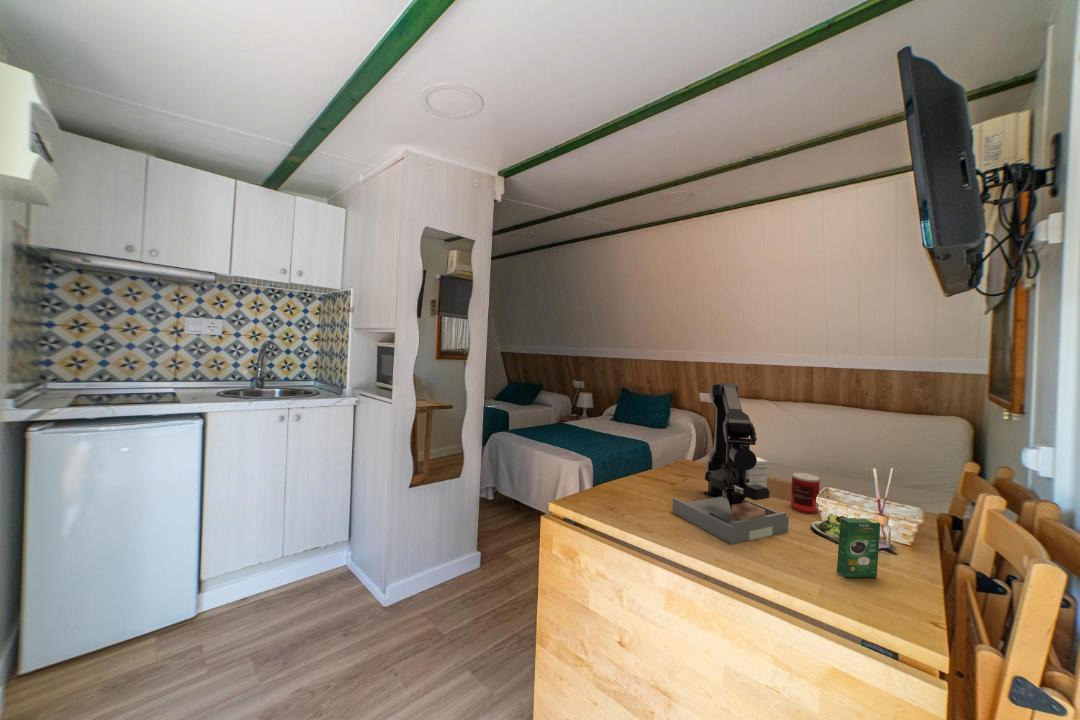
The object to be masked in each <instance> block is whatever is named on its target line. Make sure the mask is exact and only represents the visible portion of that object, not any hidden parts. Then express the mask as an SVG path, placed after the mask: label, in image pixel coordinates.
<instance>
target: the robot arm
mask: <svg viewBox="0 0 1080 720" xmlns="http://www.w3.org/2000/svg"><path fill="white" fill-rule="evenodd" d="M739 396H740V395H739V385H738V384H736V383H733V382H730V383H729V382H722V383H714V384H713V385H711V386H710V387H709V397H711V400H710V401H711V402H712V404H713V406H714V407H715V416H714V417H715V420H714V421H715V424H714V443H713V445H714V447H713V449H712V451H711V452H710V454H708V455H709V456H708V461H706V464H705V469H704V480H705V481H706V482H708V483H707V484H708V486H707V490H705V491H704V494H706V495H709V496H711V497H712V498H716V497H722V491H724V492H725V493H726V496H727V498H728V501H729V505H730V508H731V511H732V505H735V504H741V503H742V502H743V501H744V499H749V500H751V501H752V500H753V501H760V500H766V499H770V494H771V493H770V490H769V488H768V487H767V488H766V487H763V486H761V485H758V484H754V485H747V484H746V483H749V480H750V479H748V478H746V477H747V470H750V469H752V468H753V467H754V466H755V465H756V462H757V459H756V457H757V456H756V454H755V453H754V452H753V451H752V450H751V449H750V446H756V442H757V440H758V437H757V433H756V428H755V426H754V423H753V422H752V421H751V419H750V416H749V415H748V414H747V413H745V412H743V409H742V405H741V402H740V401H741V400H740V398H739ZM739 485H740V486H739Z"/></svg>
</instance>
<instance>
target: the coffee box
mask: <svg viewBox="0 0 1080 720" xmlns="http://www.w3.org/2000/svg"><path fill="white" fill-rule="evenodd" d="M880 533H881V522H879V521H877V520H876V519H873V518H858V517H855V518H841V519H840V533H839V539H838V540H839V543H838V547H837V548H838V549H837V550H838V551H837V561H836V562H837V563H836V573H837V574H839V575H840V576H842V577H844V578H853V579H854V578H877V576H878V564H879V563H878V562H879V561H878V560H879V551H880V550H879V538H880Z"/></svg>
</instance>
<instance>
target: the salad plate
mask: <svg viewBox="0 0 1080 720" xmlns="http://www.w3.org/2000/svg"><path fill="white" fill-rule="evenodd" d="M841 518H847V517H844V516H840V517H839V516H837V515H833V514H832V513H829V514H828V516H827V520H819V521H817V520H816V521H813V522H811V523H810V528H811V529H812V530H813V531H814V532H815V534H817V533H818V535H819V536H821V537H823V538H825V537H826V538H825V539H828V540H830V541H832V542H835V543H837V544H839V533H840V519H841ZM888 550H893V551H898V550H899V549H898V547H896V546H895V545H893V539H891V544H890V546H889V549H888Z"/></svg>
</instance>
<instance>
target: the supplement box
mask: <svg viewBox="0 0 1080 720" xmlns="http://www.w3.org/2000/svg"><path fill="white" fill-rule="evenodd" d="M756 459H757V462H756V465H755V466H754V467H753V468H752V469H750V470H747V477H746V478H748V479H750V480H749V483H746V484H747V485H754V484H758V485H761V486H763V487H766V488H768V487H767V483H768V470H769V469H768V468H769V467H768V466H769V465H768V464H769V463H768V462H769V461H768V460H765V459H763V458H762V457H761V458H760V457H759V456H756ZM739 486H740V485H739Z"/></svg>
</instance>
